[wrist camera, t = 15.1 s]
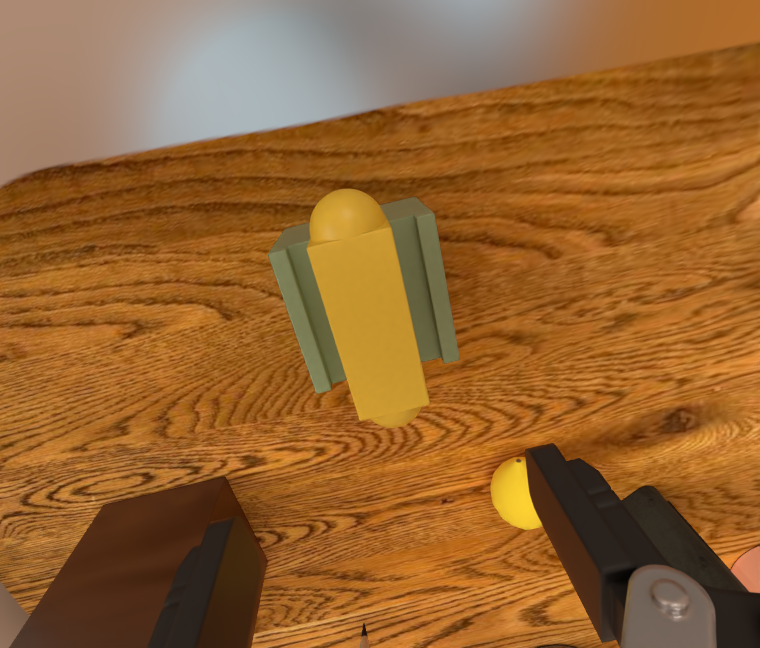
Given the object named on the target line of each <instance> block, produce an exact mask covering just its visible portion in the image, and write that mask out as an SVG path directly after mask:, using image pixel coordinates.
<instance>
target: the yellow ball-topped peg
mask: <svg viewBox="0 0 760 648" xmlns="http://www.w3.org/2000/svg"><path fill="white" fill-rule="evenodd" d="M309 230H310V240H309V243H308V246H307V252H308V256H309V259H310V262H311V265H312V268H313V272H314V275H315V278H316V281H317V285H318V288H319V291H320V294H321V298H322V301H323V304H324V307H325V310H326V314H327V317H328V320H329V323H330V327H331V330H332V333H333V336H334V339H335V343H336V346H337V349H338V352H339V356H340V359H341V362H342V365H343V369H344V372H345V375H346V378H347V381H348V385H349V388H350V391H351V394H352V398H353V401H354V404H355V407H356V410H357V414H358V417H359V420H360V421H363V420H368V419H371V420H372V421H373V422H375V423H376V424H378V425H381V426H384V427H389V428H396V427H401V426H404V425H406V424H408V423H409V422H411V421H412V420H413V419H414V418H415V417H416V416H417V415H418V413H419V412H420V410H421V408H422V407H423V406H427V405H430V400H429V396H428V391H427V387H426V382H425V378H424V373H423V368H422V364H421V359H420V355H419V350H418V346H417V341H416V337H415V332H414V327H413V323H412V318H411V314H410V309H409V305H408V300H407V296H406V291H405V287H404V282H403V277H402V273H401V268H400V264H399V259H398V255H397V250H396V246H395V241H394V236H393V232H392V228H391V226H390V224H389V222H388V220H387V218H386V216H385V214H384V213H383V211H382V209H381V207H380V206H379V204H378V203H377V202H376V201H375V200H374V199H373V198H372V197H371V196H369V195H368V194H366V193H364V192H362V191H359V190H355V189H340V190H336V191H333V192H331V193H329V194H328V195H326V196H325V197H323V198H322V199H321V200H320V201H319V202H318V204H317V205H316V206H315V208H314V210H313V212H312V215H311V218H310V227H309Z"/></svg>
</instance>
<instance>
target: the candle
mask: <svg viewBox="0 0 760 648" xmlns="http://www.w3.org/2000/svg"><path fill="white" fill-rule="evenodd" d="M621 503H622V504H623V505H625V507H626V508H627V509H628V511H629V512H630V513H631V515H632V516H633V517H634V519H635V520H636V521H637V523H638V524H639V525H640V527H641V528H642V529H643V531H644V532H645V533H646V535H647V536H648V537H649V539H650V540H651V541H652V542H653V544H654V545H655V546H656V548H657V549H658V550H659V552H660V553H661V554H662V556H663V557H664V558H665V559H666V561H667V562H668V563H669V564H670V565H671V566H672V567H673V568H675V569H677V570H679V571H681V572H683V573H685V574H687V575H688V576H690V577H691V578H693V579H694V580H695V581H696V582H698V583H700V584H703V585H706V586H709V587H713V588H718V589H726V590H735V591H745V592H749V591H748V590H747V589H746V587H745V586H744V585H743V584H742V583H741V582H740V581H739V580H738V578H737V577H736V576H735V575H734V574H733V573H732V572H731V570H730V569H729V568H728V567H727V566H726V565H725V564H724V563H723V561H722V560H721V559H720V558H719V557H718V556H717V555H716V554H715V552H714V551H713V550H712V549H711V548H710V547H709V546H708V545H707V543H706V542H705V541H704V540H703V539H702V538H701V537H700V536H699V534H698V533H697V532H696V531H695V530H694V529H693V528H692V526H691V525H690V524H689V523H688V522H687V521H686V520H685V519H684V517H683V516H682V515H681V514H680V513H679V512H678V511H677V510H676V508H675V507H674V506H673V505H672V504H671V503H670V502H669V501H666V500H665V499H664V498H663V497H662V495H661V494H660V493H659V492H658V491H657V490H656V489H655V488H654V487H651V486H645V487H642V488H640V489H638V490H637V491H635V492H634V493H632V494H631V495H630V496H628V497H627V498H625V499H624V500H623V501H621Z"/></svg>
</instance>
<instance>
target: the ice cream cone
mask: <svg viewBox="0 0 760 648" xmlns="http://www.w3.org/2000/svg"><path fill="white" fill-rule="evenodd" d="M360 648H370V645H369V641H368V636H367V632H366V628H365V623H364V624H363V630H362V636H361V642H360Z"/></svg>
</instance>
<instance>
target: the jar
mask: <svg viewBox="0 0 760 648" xmlns="http://www.w3.org/2000/svg"><path fill="white" fill-rule="evenodd" d="M540 648H575V647H571V646H564V645H553V646H545V647H540Z"/></svg>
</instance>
